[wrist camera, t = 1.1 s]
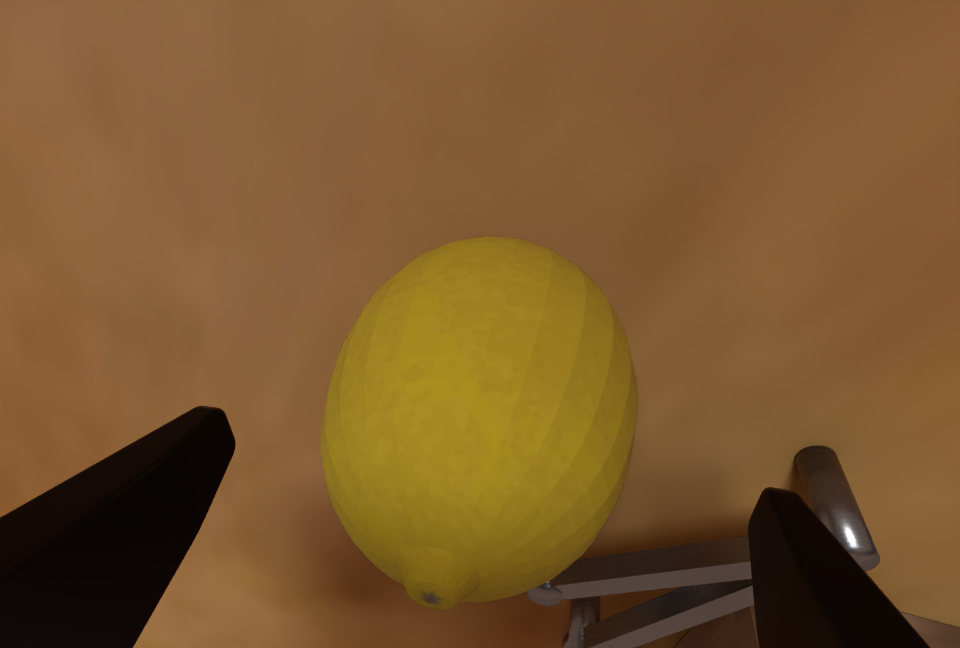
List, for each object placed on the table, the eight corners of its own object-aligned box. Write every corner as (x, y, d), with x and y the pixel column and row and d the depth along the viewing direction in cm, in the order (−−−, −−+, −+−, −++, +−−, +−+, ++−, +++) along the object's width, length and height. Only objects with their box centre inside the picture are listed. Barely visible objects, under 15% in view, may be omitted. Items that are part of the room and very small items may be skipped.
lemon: (681, 288, 13) (750, 645, 7) (522, 403, 16) (463, 724, 10) (502, 122, 12) (368, 371, 5) (364, 283, 15) (172, 565, 8)
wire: (844, 451, 15) (889, 554, 12) (647, 679, 24) (651, 763, 21) (549, 375, 15) (537, 460, 13) (464, 627, 24) (448, 705, 22)
